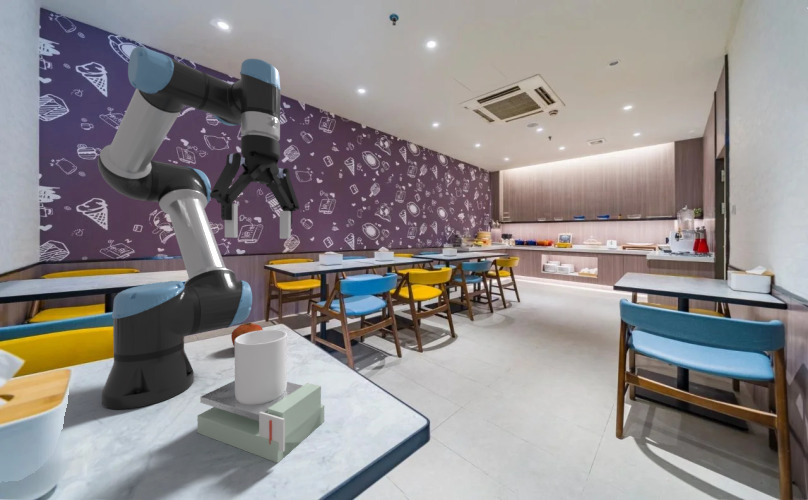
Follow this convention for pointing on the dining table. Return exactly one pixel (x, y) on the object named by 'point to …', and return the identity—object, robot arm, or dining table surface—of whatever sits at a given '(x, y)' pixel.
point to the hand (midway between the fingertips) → (260, 238)
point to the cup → (260, 366)
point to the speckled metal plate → (228, 402)
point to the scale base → (268, 424)
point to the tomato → (244, 330)
